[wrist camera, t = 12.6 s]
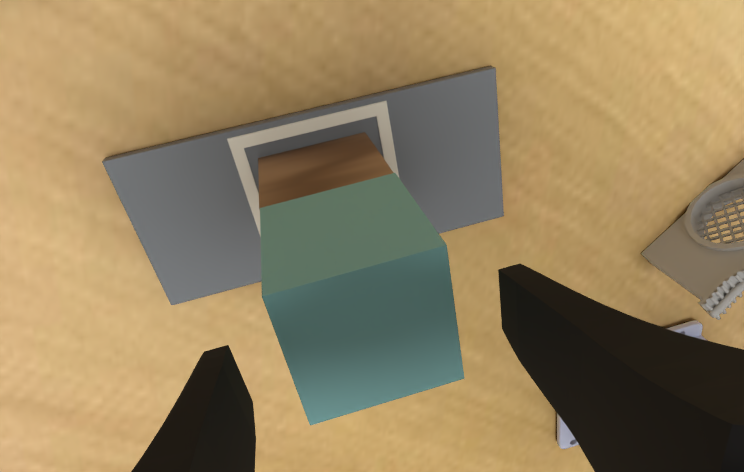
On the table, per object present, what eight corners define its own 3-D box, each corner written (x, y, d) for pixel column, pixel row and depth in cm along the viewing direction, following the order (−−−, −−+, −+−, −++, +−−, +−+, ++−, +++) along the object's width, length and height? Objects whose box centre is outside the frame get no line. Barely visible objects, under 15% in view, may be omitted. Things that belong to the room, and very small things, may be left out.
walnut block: (365, 132, 21) (394, 174, 16) (383, 225, 23) (413, 284, 18) (258, 158, 20) (259, 208, 16) (287, 251, 22) (295, 317, 18)
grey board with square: (490, 66, 21) (496, 68, 20) (499, 211, 24) (504, 216, 24) (105, 157, 19) (101, 162, 19) (173, 299, 23) (171, 306, 22)
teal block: (395, 172, 16) (446, 245, 12) (415, 283, 18) (464, 378, 14) (259, 208, 16) (261, 296, 11) (296, 316, 18) (309, 425, 14)
